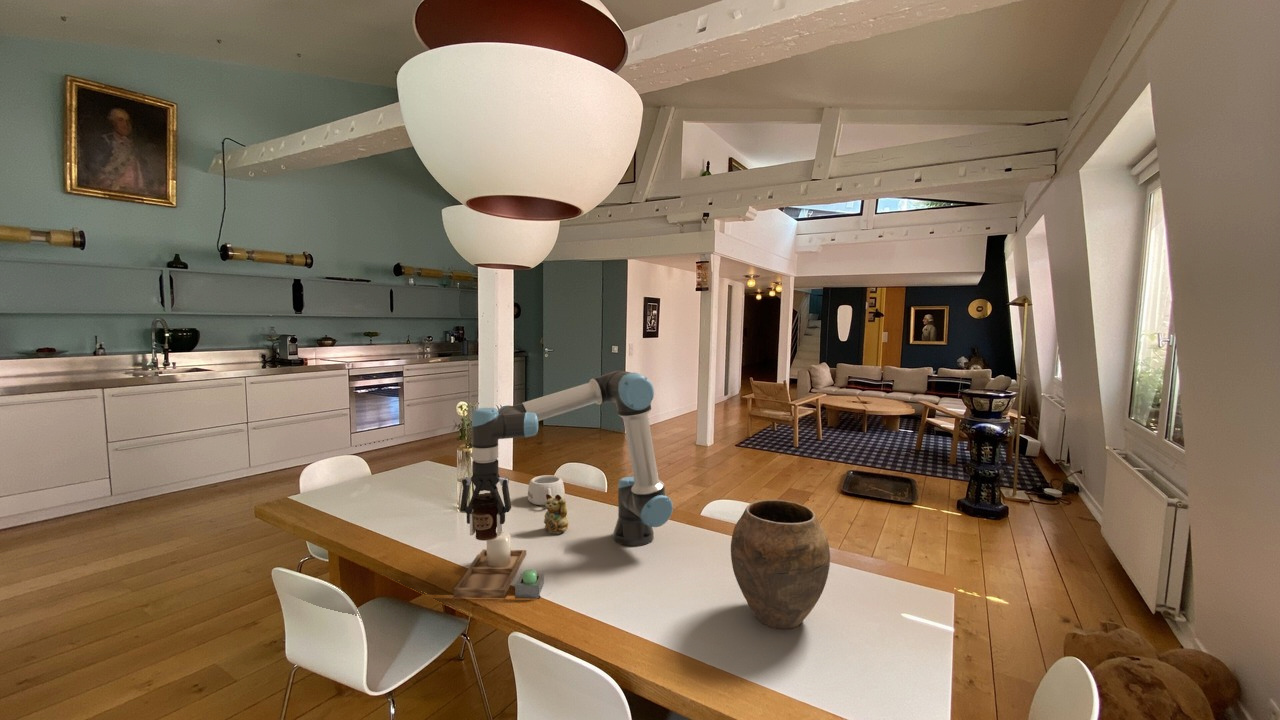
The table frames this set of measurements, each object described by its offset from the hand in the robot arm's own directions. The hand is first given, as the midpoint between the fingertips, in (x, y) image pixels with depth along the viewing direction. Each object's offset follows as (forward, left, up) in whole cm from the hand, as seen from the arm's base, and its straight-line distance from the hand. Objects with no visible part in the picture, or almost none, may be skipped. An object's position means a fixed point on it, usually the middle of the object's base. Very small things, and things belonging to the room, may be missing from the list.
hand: (486, 533), depth 157 cm
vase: (-85, +14, -17) cm, 88 cm away
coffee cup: (0, 0, -1) cm, 1 cm away
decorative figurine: (-14, -44, -17) cm, 49 cm away
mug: (-4, -76, -17) cm, 77 cm away
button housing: (-14, +3, -16) cm, 22 cm away
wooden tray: (0, -7, -16) cm, 18 cm away
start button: (-14, +4, -15) cm, 21 cm away
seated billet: (0, -13, -15) cm, 20 cm away
